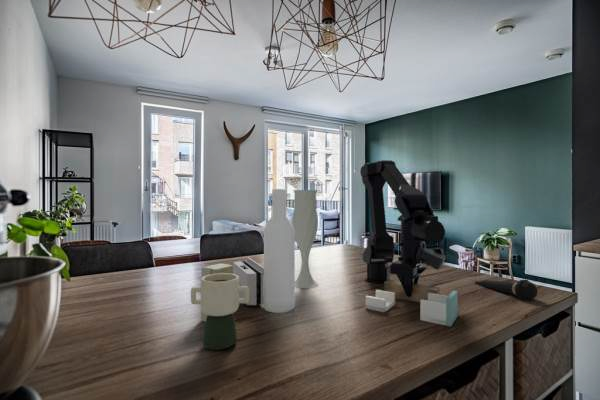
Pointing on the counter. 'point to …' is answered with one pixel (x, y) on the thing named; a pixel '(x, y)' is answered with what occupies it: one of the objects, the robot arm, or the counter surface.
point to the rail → (417, 293)
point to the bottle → (279, 257)
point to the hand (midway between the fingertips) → (411, 294)
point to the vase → (305, 232)
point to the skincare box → (215, 270)
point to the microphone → (512, 288)
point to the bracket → (250, 279)
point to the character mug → (219, 308)
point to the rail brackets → (421, 306)
